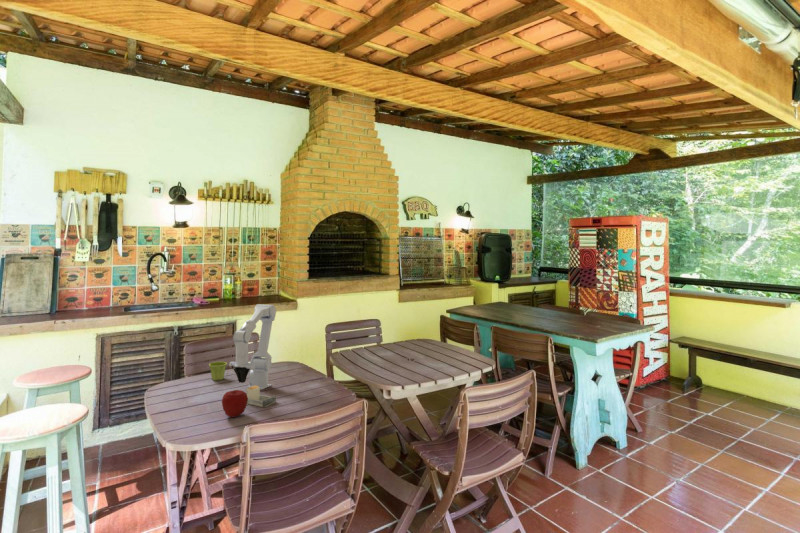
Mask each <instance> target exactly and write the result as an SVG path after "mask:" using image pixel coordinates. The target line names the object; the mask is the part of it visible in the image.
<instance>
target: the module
mask: <svg viewBox="0 0 800 533" xmlns="http://www.w3.org/2000/svg"><path fill="white" fill-rule="evenodd" d="M260 391H261V390H260V387H259V386H252V387H247V388H246V394H247V397H248V398H250V399H255V400H259V399H260V395H261V392H260Z"/></svg>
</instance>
